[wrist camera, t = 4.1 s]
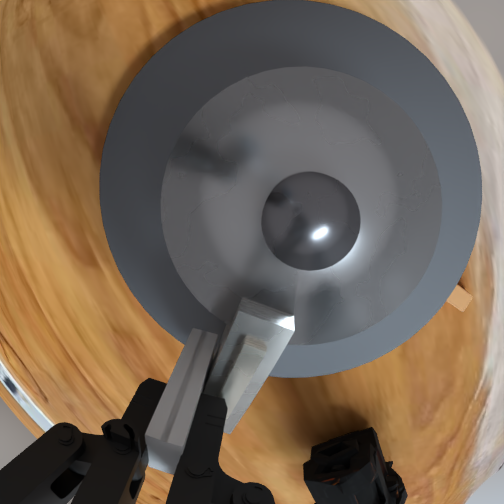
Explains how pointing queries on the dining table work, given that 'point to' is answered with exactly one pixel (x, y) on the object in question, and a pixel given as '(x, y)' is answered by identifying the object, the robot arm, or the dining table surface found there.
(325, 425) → the dining table surface
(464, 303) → the dial plate
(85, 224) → the dining table surface
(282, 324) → the dial
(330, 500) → the tool
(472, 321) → the dining table surface
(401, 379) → the dining table surface
